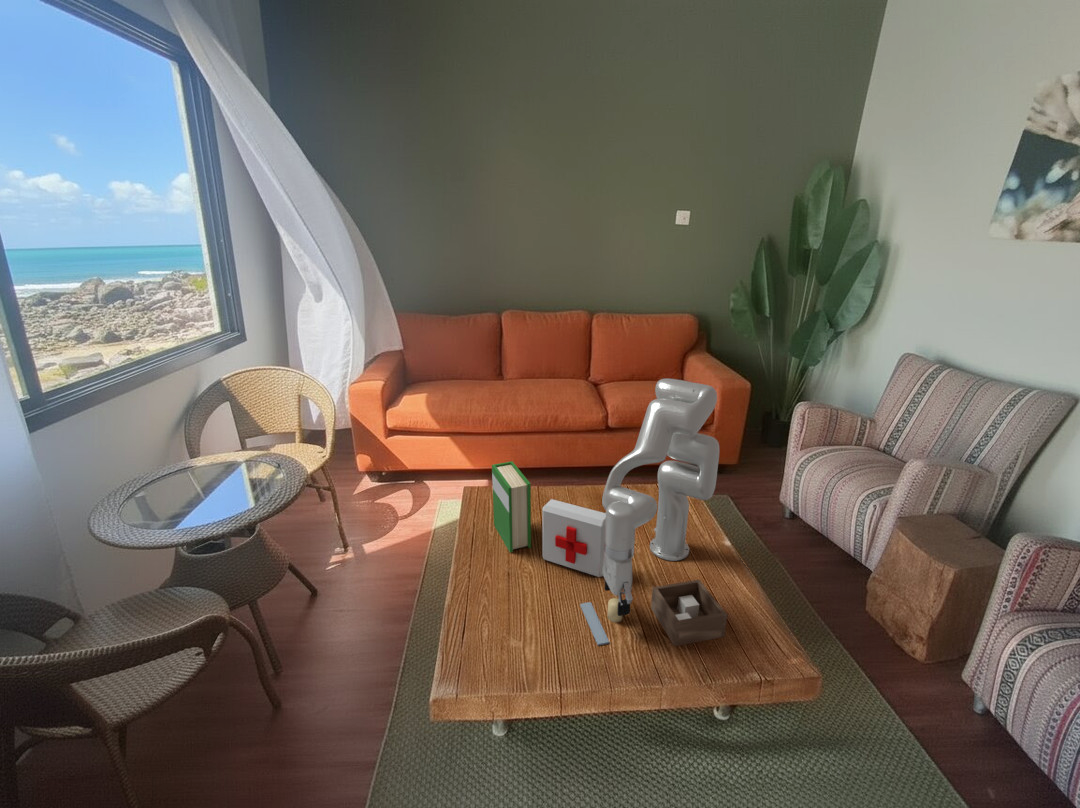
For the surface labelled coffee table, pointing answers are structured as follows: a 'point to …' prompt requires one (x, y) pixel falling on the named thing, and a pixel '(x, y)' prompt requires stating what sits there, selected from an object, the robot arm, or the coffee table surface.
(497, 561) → the coffee table surface
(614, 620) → the lid
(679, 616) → the cube
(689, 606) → the cube
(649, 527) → the coffee table surface
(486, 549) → the coffee table surface
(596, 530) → the bevelled white case
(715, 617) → the box
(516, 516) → the hardback book
